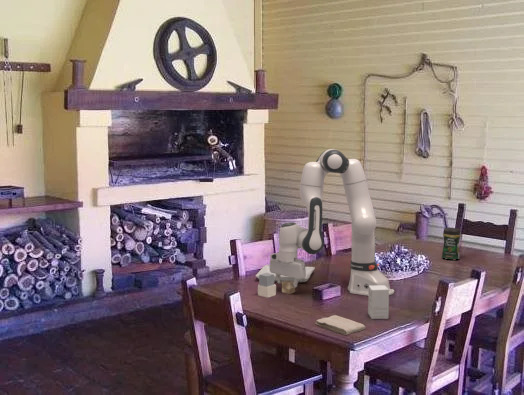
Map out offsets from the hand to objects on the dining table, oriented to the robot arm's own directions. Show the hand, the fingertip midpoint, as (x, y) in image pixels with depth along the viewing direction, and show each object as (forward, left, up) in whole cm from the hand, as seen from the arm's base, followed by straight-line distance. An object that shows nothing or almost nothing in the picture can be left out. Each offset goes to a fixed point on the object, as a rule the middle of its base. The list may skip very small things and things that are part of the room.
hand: (287, 285), depth 325 cm
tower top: (+3, +11, +2) cm, 12 cm away
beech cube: (-1, 0, -3) cm, 3 cm away
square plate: (+19, -22, -4) cm, 30 cm away
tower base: (+3, +11, -3) cm, 12 cm away
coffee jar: (-25, -119, -3) cm, 122 cm away
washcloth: (-50, +27, -4) cm, 57 cm away
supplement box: (-54, +5, -4) cm, 54 cm away
